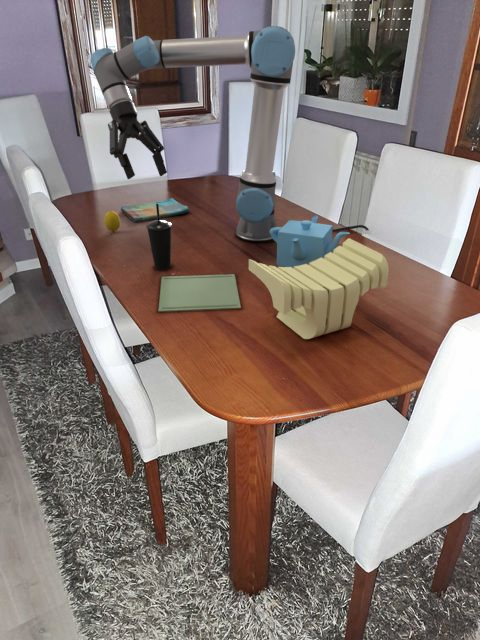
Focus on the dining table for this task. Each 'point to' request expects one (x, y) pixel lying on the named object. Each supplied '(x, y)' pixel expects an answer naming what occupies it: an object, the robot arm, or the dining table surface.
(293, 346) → the dining table surface
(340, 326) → the slatted curved stool
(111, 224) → the lemon
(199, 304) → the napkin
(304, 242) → the teakettle
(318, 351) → the dining table surface
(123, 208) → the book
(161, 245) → the drinking cup
